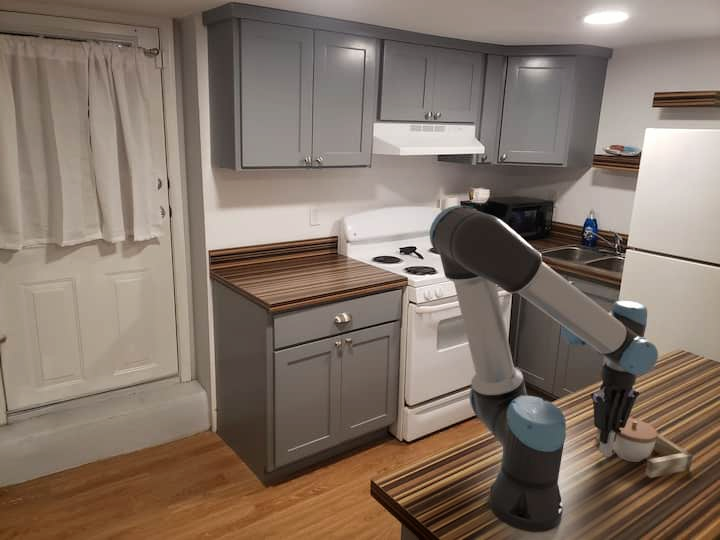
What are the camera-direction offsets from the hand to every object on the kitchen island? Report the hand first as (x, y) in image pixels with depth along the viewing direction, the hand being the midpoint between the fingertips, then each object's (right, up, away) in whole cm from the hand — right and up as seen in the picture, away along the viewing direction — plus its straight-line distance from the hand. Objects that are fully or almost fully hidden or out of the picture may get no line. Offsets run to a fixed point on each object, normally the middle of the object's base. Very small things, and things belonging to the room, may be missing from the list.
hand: (604, 453), depth 139 cm
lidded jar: (+8, -2, +3) cm, 8 cm away
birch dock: (+11, -1, +4) cm, 12 cm away
